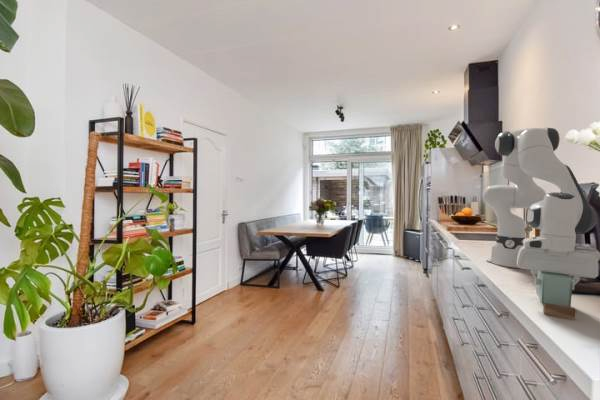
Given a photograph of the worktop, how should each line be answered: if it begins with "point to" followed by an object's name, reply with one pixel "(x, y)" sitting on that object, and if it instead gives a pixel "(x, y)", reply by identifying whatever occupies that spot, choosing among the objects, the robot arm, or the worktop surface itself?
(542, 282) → the sage green upright block
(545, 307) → the strip
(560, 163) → the robot arm
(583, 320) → the worktop surface
